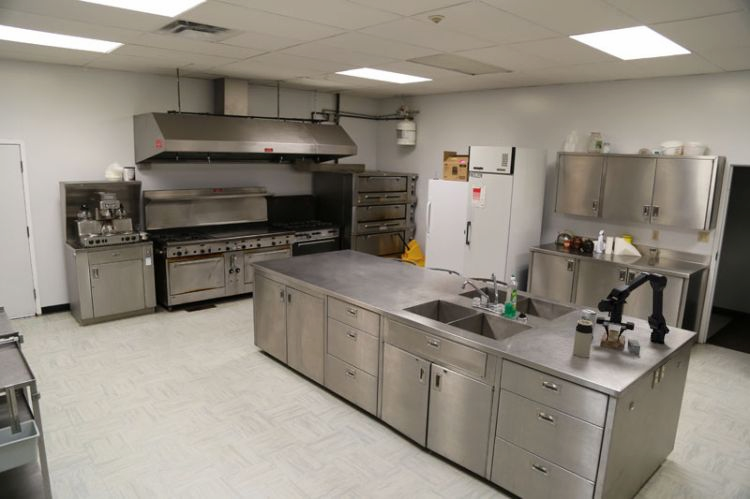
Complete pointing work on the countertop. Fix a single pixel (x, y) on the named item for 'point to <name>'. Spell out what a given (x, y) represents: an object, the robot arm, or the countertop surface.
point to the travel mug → (583, 338)
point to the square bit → (613, 335)
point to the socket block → (611, 344)
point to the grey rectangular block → (633, 346)
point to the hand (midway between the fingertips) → (613, 338)
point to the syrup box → (589, 317)
